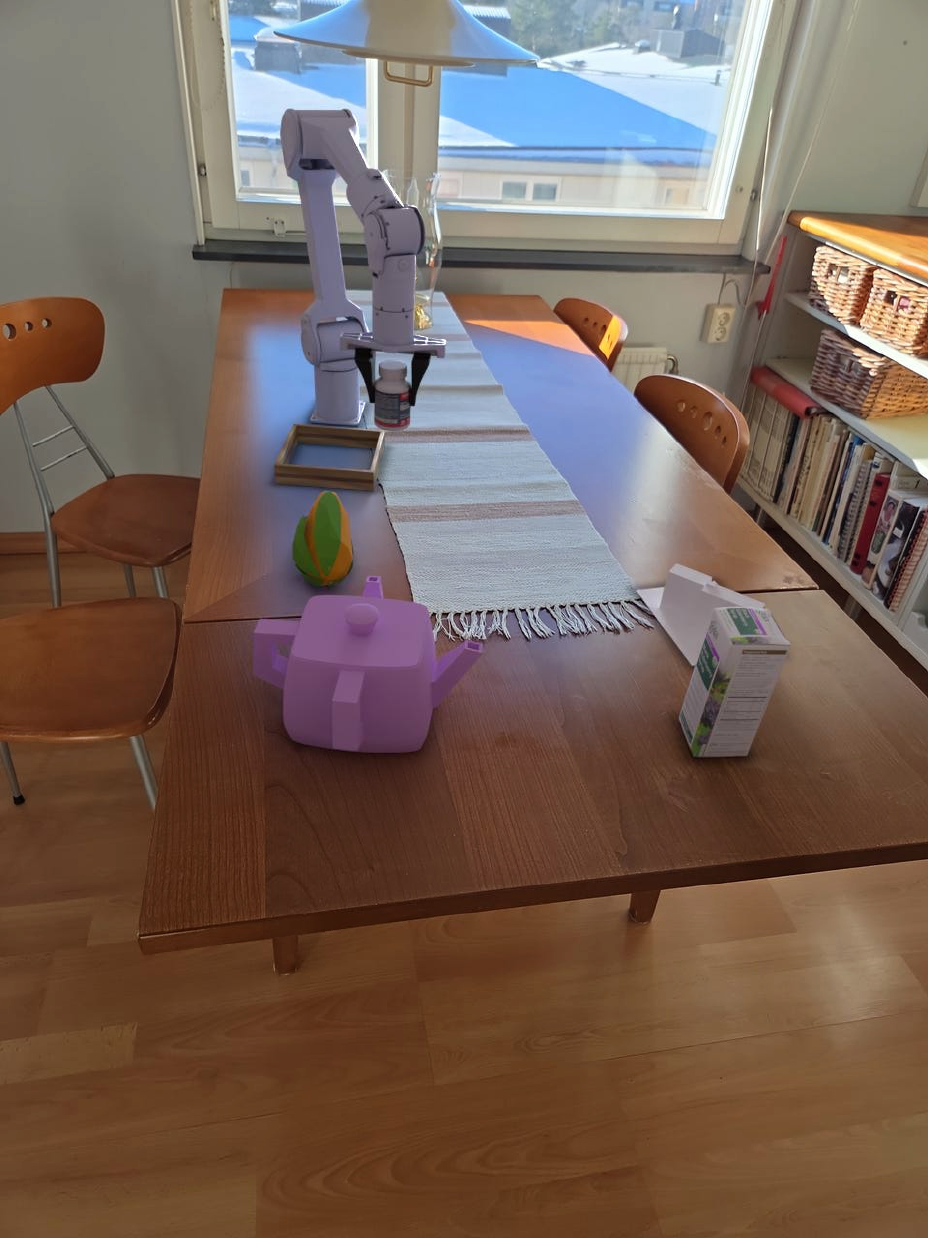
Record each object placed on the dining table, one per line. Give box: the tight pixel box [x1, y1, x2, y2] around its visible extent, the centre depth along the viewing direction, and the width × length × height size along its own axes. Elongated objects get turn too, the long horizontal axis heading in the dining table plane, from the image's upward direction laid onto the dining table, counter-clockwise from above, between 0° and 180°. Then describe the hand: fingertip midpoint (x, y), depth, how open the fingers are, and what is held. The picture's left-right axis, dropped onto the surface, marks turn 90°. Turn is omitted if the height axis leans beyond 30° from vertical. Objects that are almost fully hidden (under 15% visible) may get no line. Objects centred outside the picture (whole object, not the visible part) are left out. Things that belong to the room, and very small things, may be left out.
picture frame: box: [273, 423, 386, 492], centre depth 126 cm, size 14×14×3 cm
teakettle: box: [252, 574, 484, 754], centre depth 82 cm, size 17×17×12 cm
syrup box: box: [678, 607, 792, 758], centre depth 81 cm, size 6×6×14 cm
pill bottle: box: [373, 359, 412, 432], centre depth 121 cm, size 5×5×9 cm
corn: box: [292, 490, 354, 588], centre depth 105 cm, size 7×8×20 cm
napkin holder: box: [635, 562, 767, 667], centre depth 99 cm, size 15×11×6 cm
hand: (392, 402), depth 121 cm, fingers closed on pill bottle, 5 cm apart
